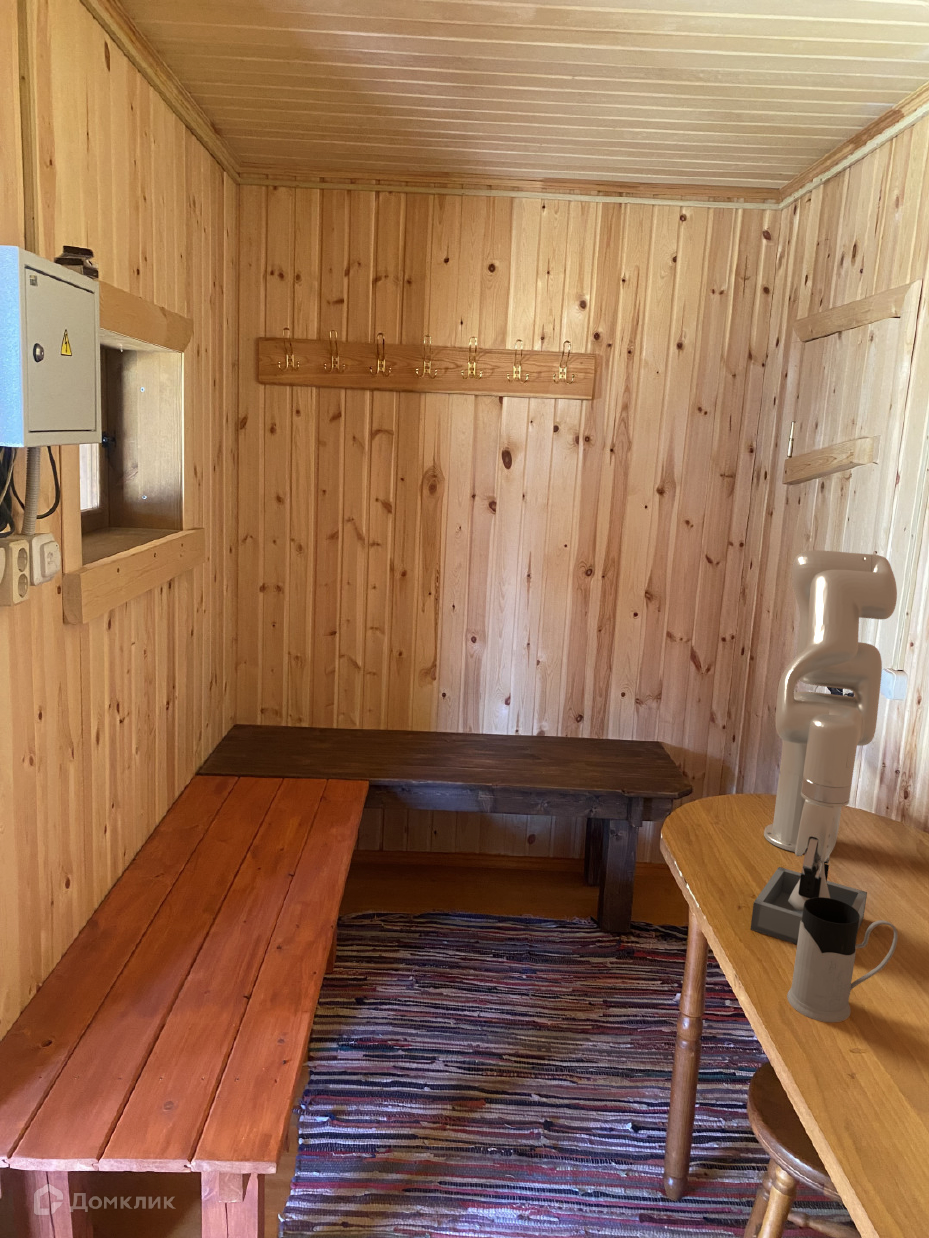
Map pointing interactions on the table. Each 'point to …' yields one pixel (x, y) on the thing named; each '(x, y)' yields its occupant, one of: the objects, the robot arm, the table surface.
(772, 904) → the charcoal box
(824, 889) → the flask
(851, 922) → the grey mug
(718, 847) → the table surface
